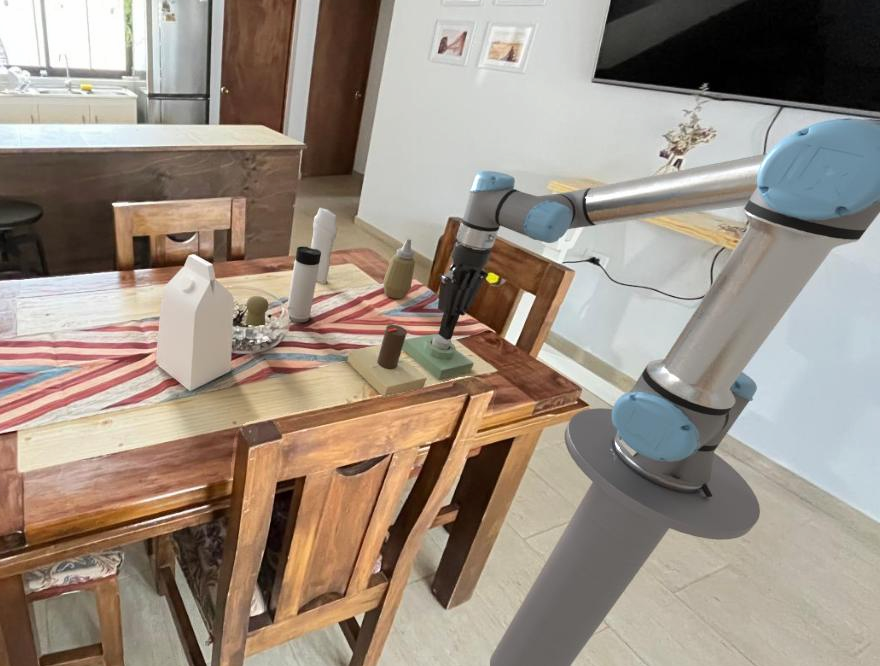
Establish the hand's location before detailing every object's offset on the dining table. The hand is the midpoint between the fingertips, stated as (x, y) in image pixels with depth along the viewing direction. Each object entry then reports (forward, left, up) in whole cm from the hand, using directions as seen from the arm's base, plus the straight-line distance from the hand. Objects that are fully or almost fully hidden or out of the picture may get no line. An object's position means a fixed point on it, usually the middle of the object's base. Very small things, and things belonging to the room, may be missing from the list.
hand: (444, 336), depth 122 cm
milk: (+14, +58, -7) cm, 60 cm away
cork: (+21, +40, -7) cm, 46 cm away
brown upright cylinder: (-1, +17, -4) cm, 17 cm away
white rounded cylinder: (+47, +6, -7) cm, 48 cm away
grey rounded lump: (0, 0, -3) cm, 3 cm away
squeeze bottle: (+31, -12, -7) cm, 34 cm away
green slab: (0, 0, -7) cm, 7 cm away
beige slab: (-1, +17, -7) cm, 18 cm away
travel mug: (+27, +24, -7) cm, 37 cm away
